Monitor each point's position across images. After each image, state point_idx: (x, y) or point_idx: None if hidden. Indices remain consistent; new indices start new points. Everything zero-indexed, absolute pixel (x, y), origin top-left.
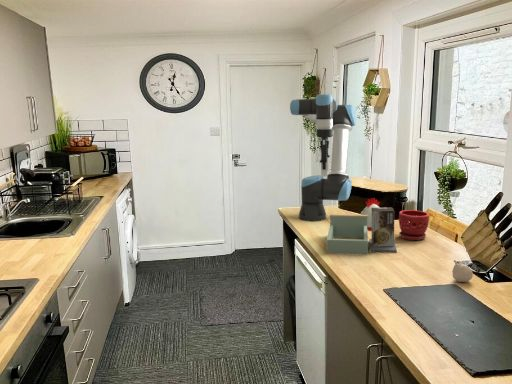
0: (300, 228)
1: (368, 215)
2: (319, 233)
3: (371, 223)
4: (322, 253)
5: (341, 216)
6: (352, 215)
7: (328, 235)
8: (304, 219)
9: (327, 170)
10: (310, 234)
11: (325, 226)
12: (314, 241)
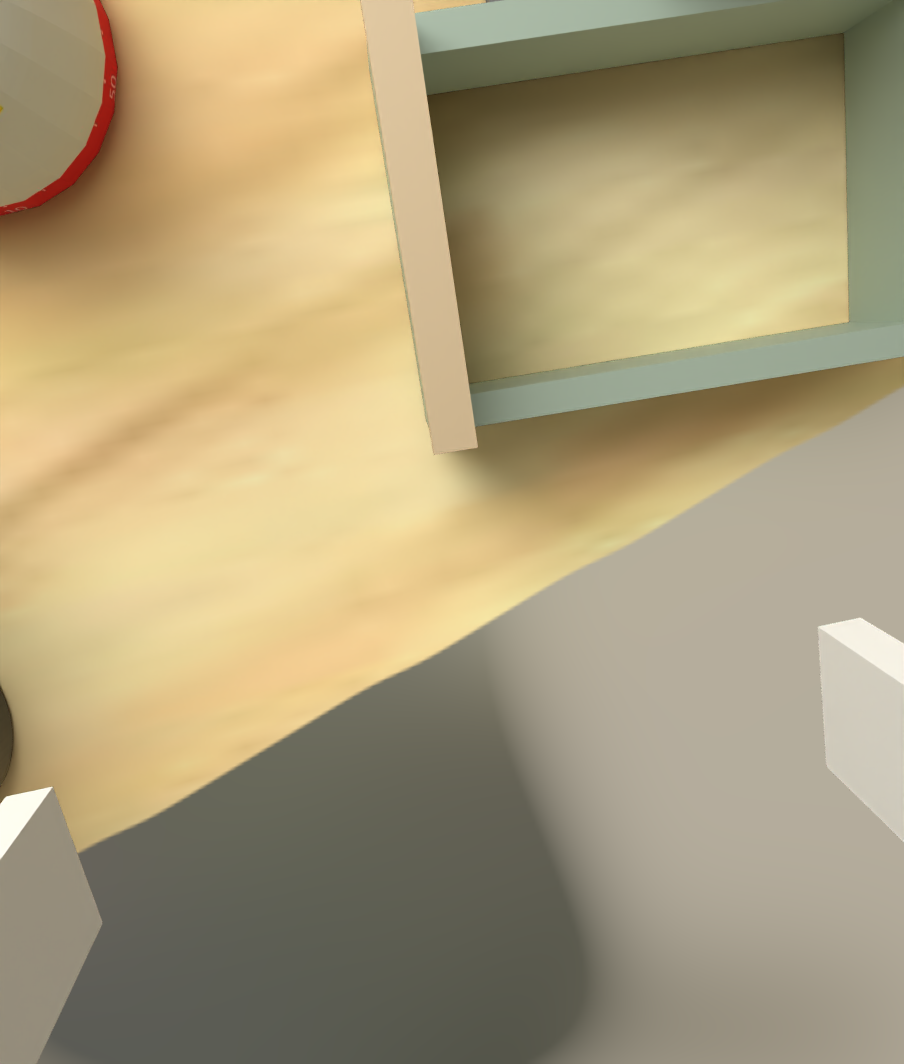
0: (273, 721)
1: (10, 35)
2: (374, 530)
3: (80, 22)
4: (883, 378)
5: (455, 309)
6: (434, 167)
7: (823, 362)
8: (5, 769)
9: (47, 824)
10: (423, 594)
11: (136, 533)
12: (605, 512)
